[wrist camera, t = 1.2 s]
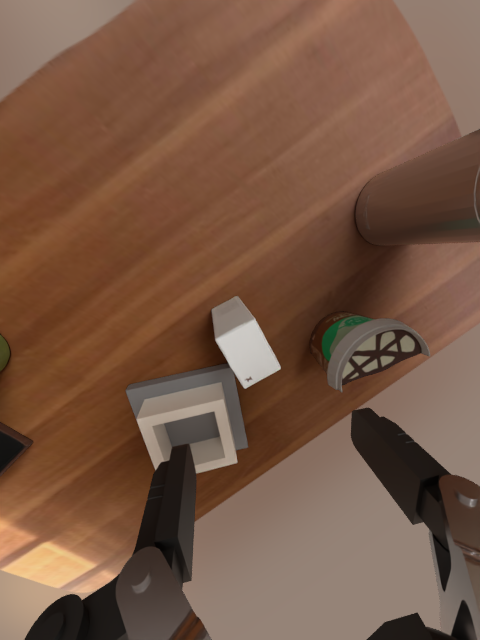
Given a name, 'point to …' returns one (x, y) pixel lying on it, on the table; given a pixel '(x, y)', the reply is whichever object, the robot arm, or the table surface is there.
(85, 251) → the table surface
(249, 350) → the skincare box
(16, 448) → the letter holder
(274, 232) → the table surface
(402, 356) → the food container
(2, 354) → the plant pot
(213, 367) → the box stand
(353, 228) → the table surface
